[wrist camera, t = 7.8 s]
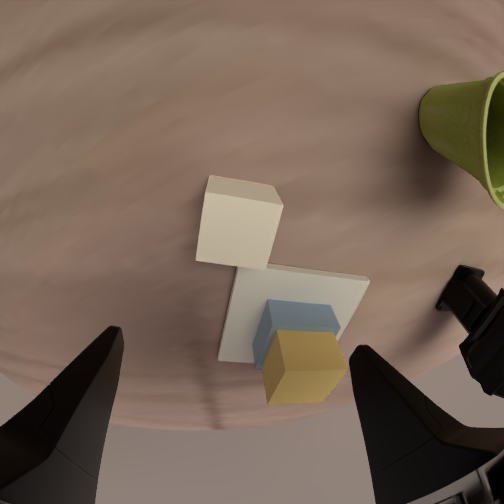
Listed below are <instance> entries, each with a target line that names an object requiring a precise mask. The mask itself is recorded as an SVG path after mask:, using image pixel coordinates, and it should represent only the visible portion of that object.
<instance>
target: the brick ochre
mask: <svg viewBox="0 0 504 504" xmlns="http://www.w3.org/2000/svg"><path fill="white" fill-rule="evenodd" d="M262 370H263V377H264V384H265V391H266V398H267V404H304V403H320V402H323V401H324V400H325V399H326V398H327V396H328V395H329V394H330V393H331V391H332V390H333V389H334V388H335V386H336V385H337V384H338V382H339V381H340V380H341V378H342V377H343V376H344V374H345V373H346V372H347V370H348V368H347V365H346V363H345V360H344V358H343V355H342V352H341V350H340V347H339V345H338V342H337V340H336V338H335V335H334V333H333V332H306V331H287V330H277V331H276V334H275V336H274V339H273V341H272V344H271V346H270V349H269V351H268V354H267V356H266V359H265V361H264V364H263V366H262Z"/></svg>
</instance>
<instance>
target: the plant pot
mask: <svg viewBox="0 0 504 504" xmlns="http://www.w3.org/2000/svg"><path fill="white" fill-rule="evenodd" d="M419 122H420V128H421V132H422V134H423V136H424V137H425V139H426V140H427V142H428V143H429V145H430V147H431V148H432V149H433V150H434V151H436V152H437V153H439V154H441V155H442V156H444V157H445V158H447V159H449V160H450V161H452V162H453V163H455V164H456V165H458V166H459V167H461V168H462V169H464V170H465V171H467V172H468V173H469V174H471V175H472V176H473V177H475V178H476V179H477V180H479V182H480V183H481V184H482V186H483V187H484V188H485V189H486V190H487V191H488V193H489V195H490V197H491V199H492V200H493V201H494V203H495V204H496V205H497V206H499V207H500V208H502V209H504V71H502V72H499V73H498V74H496V75H495V76H494V77H489V78H486V79H485V80H482V81H473V82H465V83H456V84H448V85H441V86H435V87H433V88H431V89H430V91H429V92H428V93H427V94H426V95H425V96H424V97H423V99H422V101H421V104H420V109H419Z"/></svg>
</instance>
